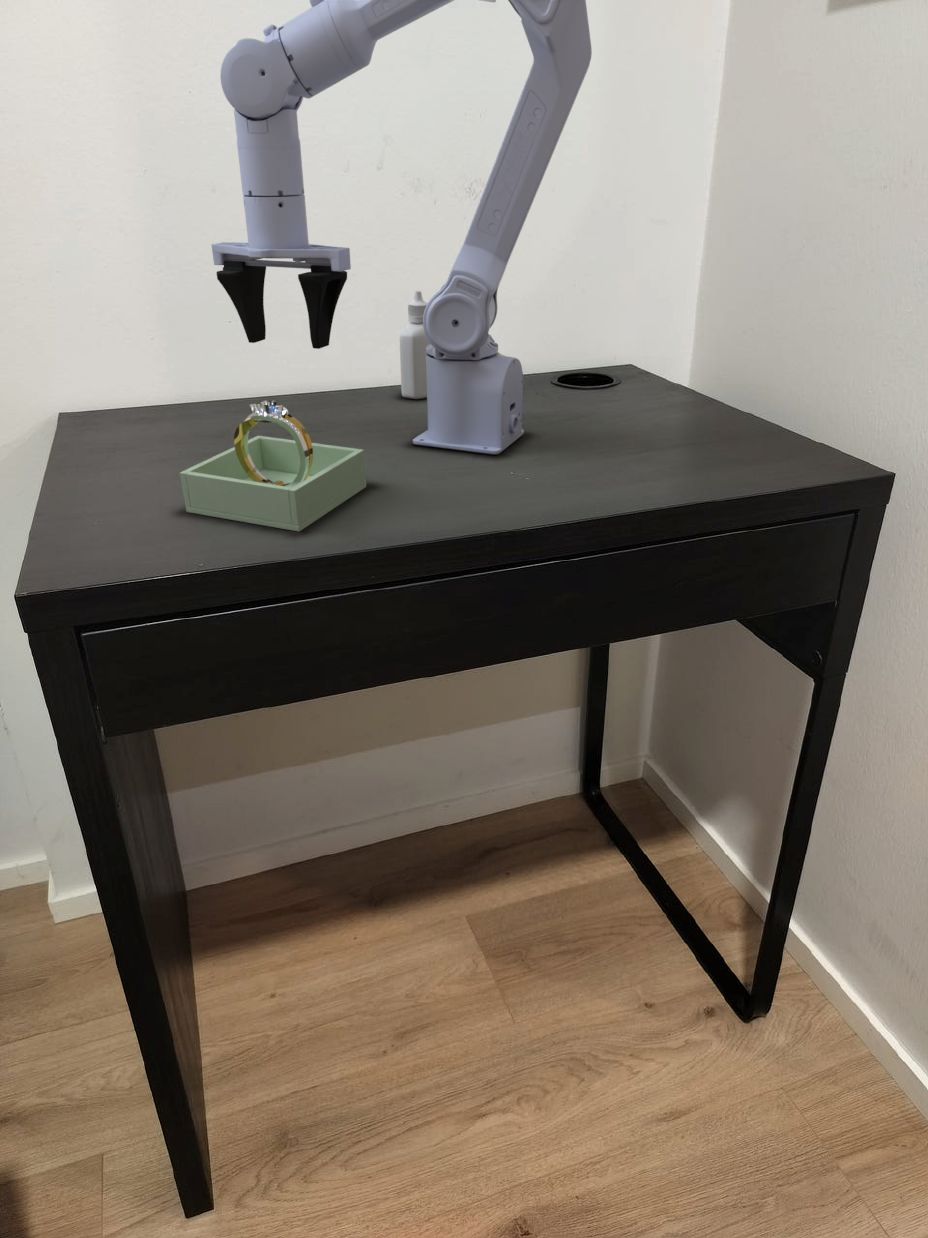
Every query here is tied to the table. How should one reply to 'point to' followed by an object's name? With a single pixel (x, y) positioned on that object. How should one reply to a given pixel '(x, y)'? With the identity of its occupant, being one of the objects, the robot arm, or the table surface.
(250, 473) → the ring
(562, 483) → the table surface
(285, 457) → the bin
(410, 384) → the eye dropper bottle
